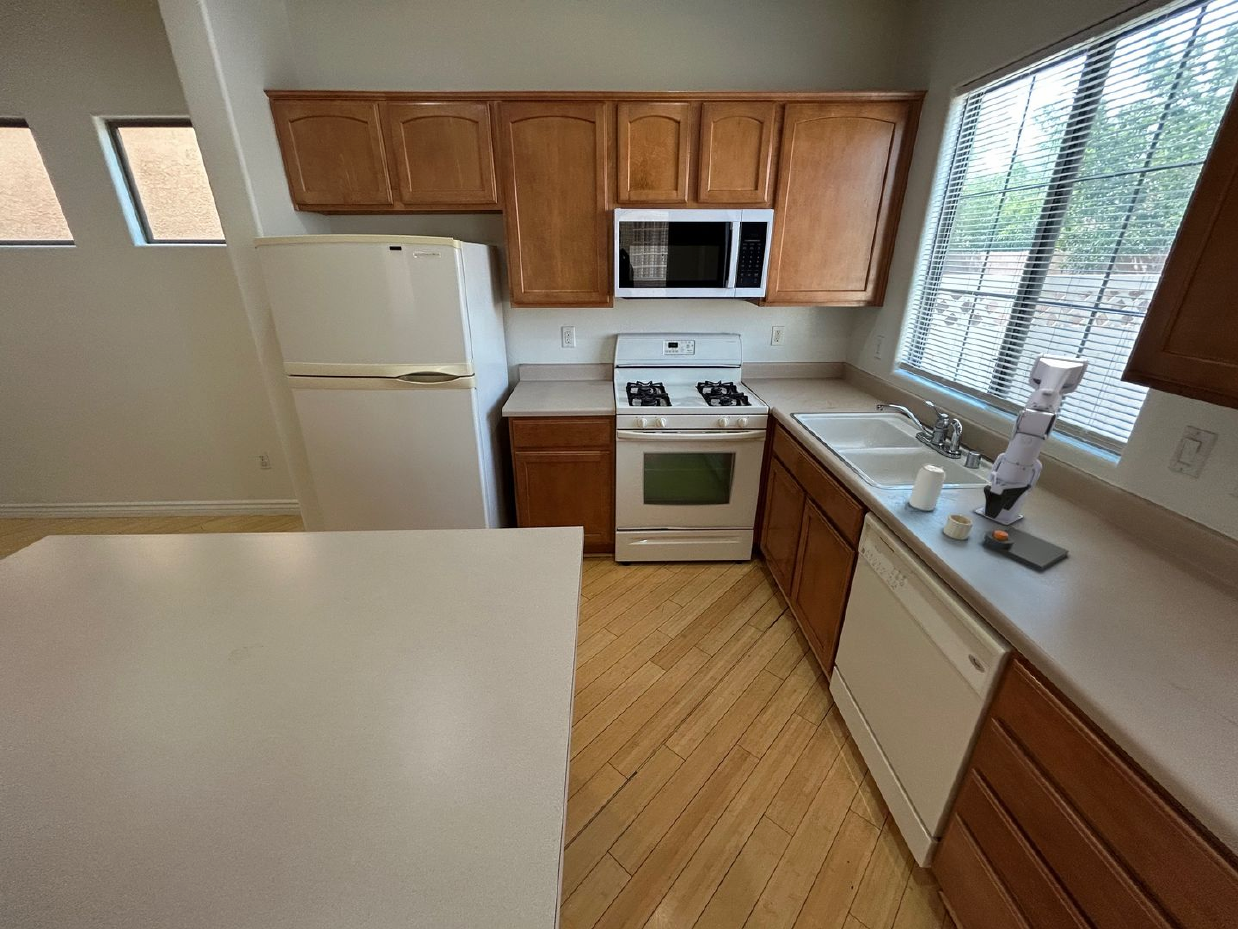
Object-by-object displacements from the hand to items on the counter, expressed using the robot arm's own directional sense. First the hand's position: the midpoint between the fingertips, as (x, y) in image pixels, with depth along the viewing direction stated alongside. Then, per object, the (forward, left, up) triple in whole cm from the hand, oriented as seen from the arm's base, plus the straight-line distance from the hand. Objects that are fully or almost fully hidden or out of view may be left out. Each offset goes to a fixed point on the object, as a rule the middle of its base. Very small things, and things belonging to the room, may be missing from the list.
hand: (997, 512), depth 114 cm
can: (-6, -19, -10) cm, 22 cm away
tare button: (-2, +2, -7) cm, 7 cm away
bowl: (+1, -6, -10) cm, 11 cm away
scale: (-7, +6, -10) cm, 13 cm away
